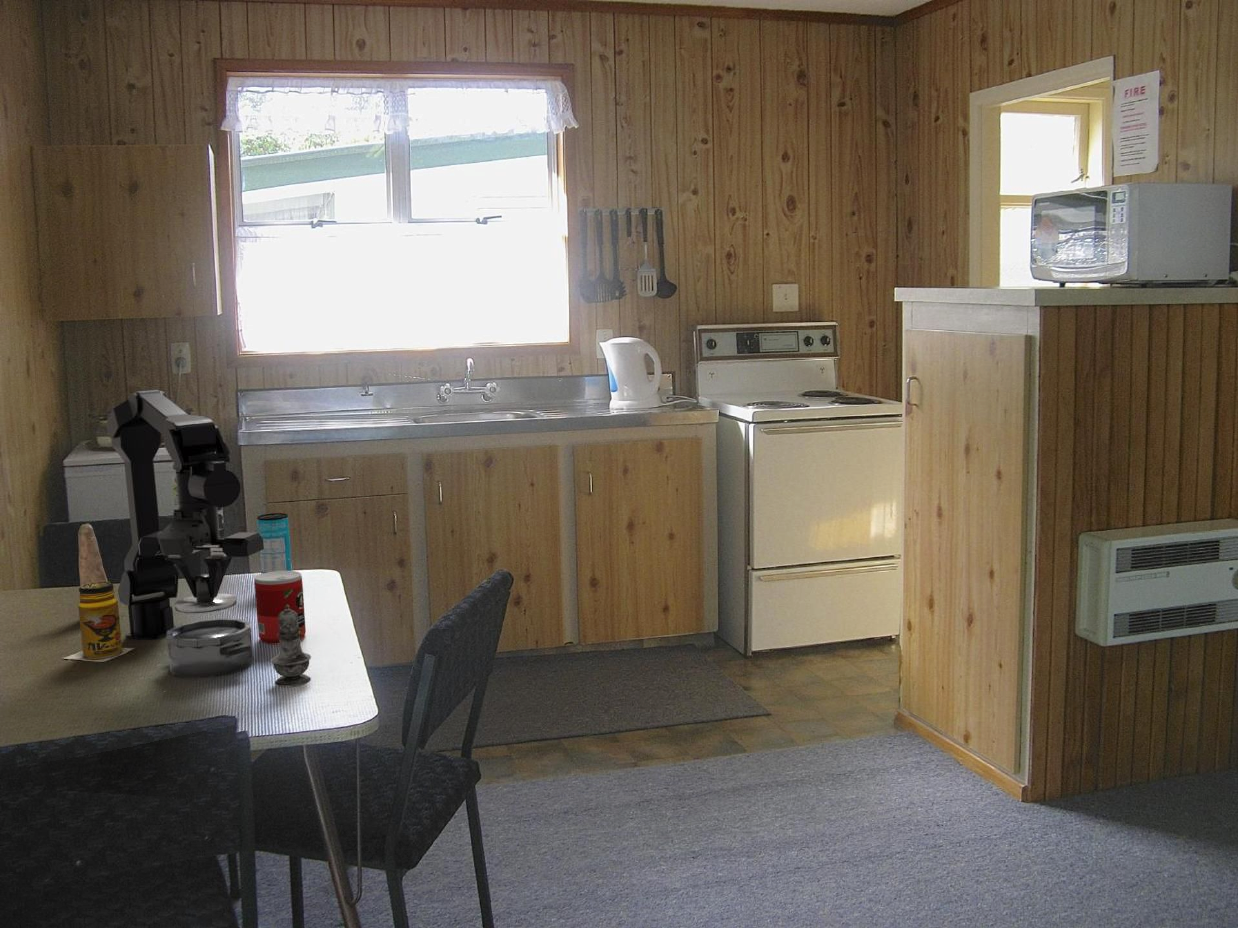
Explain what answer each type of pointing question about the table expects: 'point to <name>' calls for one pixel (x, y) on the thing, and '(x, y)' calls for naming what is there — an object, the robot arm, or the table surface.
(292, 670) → the salt shaker
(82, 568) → the pink tall tapered cone
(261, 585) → the canned food
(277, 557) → the beverage can
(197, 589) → the lid
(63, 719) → the table surface
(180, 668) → the pot
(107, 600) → the condiment
